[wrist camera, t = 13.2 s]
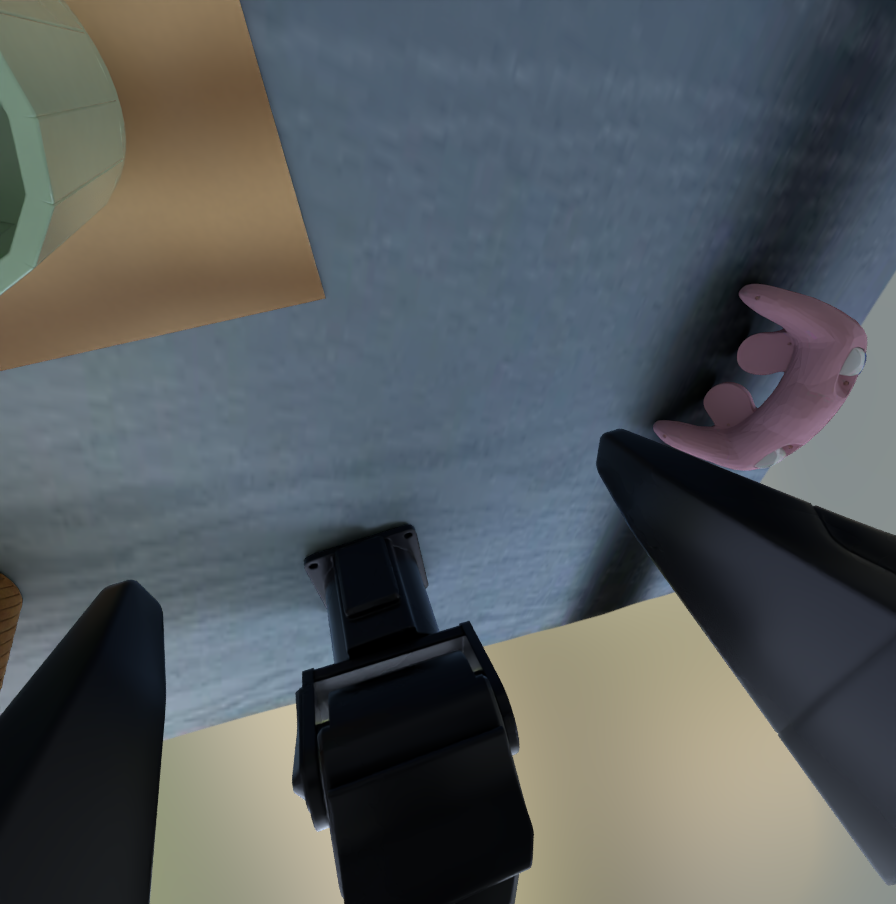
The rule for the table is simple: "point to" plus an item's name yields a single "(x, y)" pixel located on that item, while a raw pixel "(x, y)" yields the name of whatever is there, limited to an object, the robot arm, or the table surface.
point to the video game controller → (798, 393)
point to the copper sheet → (172, 194)
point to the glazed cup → (52, 132)
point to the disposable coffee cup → (7, 619)
